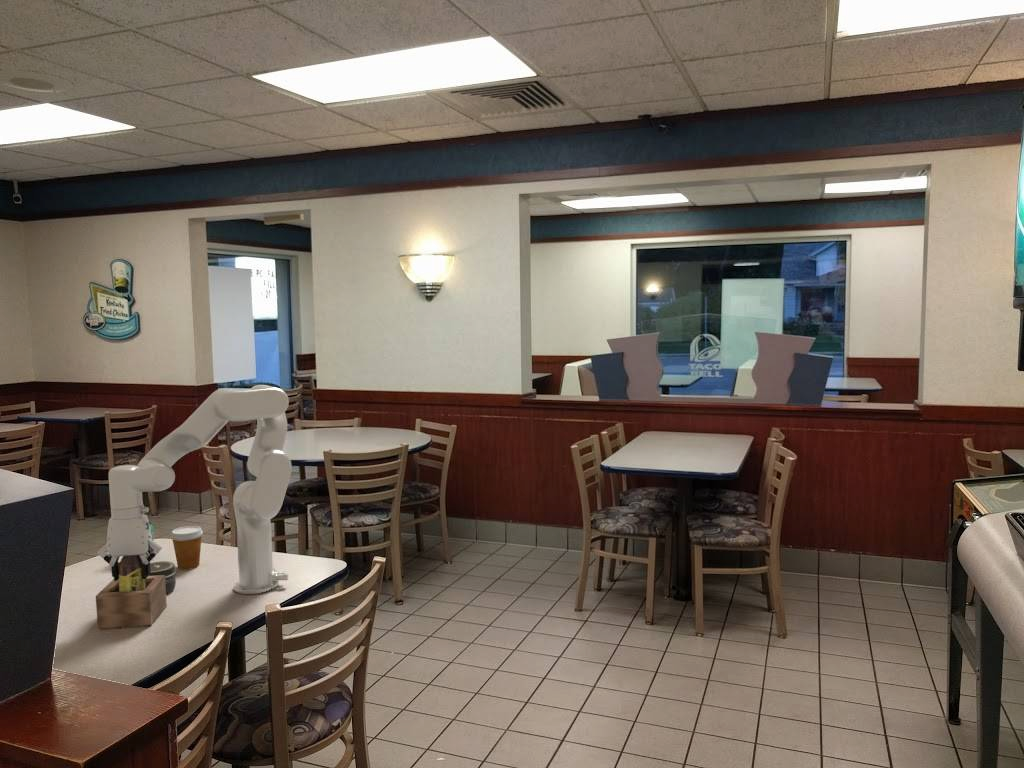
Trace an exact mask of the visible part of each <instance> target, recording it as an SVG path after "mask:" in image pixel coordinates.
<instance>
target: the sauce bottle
mask: <svg viewBox="0 0 1024 768" xmlns="http://www.w3.org/2000/svg"><path fill="white" fill-rule="evenodd" d="M118 563H119V592H125V591H142V590H145V579H143V578H142V564H143V561H142V559H141V558H140V556H139V555H133V556H121V559H120V561H119V562H118Z"/></svg>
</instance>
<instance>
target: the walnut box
mask: <svg viewBox="0 0 1024 768" xmlns="http://www.w3.org/2000/svg"><path fill="white" fill-rule="evenodd" d="M167 603H168V602H167V594H166V584H165V575H156V576H148V577H147V578H146V579H145V590H142V591H125V592H119V579H118V580H117V581H114V578H112V580H111V581H110V582H109V583H108V584H107V585H106V586H105V587H104V588H102V590H100V591H99V592H98V593H97V594H96V595H95V607H96V620H97V630H98V629H101V630H112V629H111V628H116V629H123V628H122V627H131V628H141V627H140V626H146V627H152V626H153V625H154V623H156V621H157V620H158V618H159V617H160V616H161V614H163V612H164V611H165V610H166V608H167V606H168V605H167ZM156 619H157V620H156ZM152 624H153V625H152Z"/></svg>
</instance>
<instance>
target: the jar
mask: <svg viewBox="0 0 1024 768" xmlns="http://www.w3.org/2000/svg"><path fill="white" fill-rule="evenodd" d="M150 569H151V573H150V575H149V576H156V575H165V584H166V595H168V593H169V594H170V592H171V593H172V592H173V591H174V590H175V588H176V583H177V582H176V580H177V579H176V565H175V563H174V562H171V561H168V560H165V561H164V560H163V561H162V560H161V561H153V562H150Z"/></svg>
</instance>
